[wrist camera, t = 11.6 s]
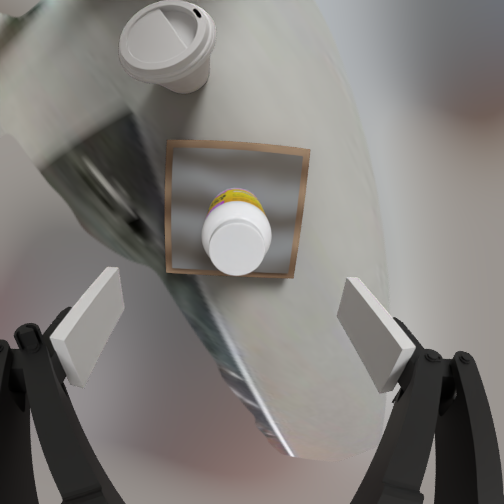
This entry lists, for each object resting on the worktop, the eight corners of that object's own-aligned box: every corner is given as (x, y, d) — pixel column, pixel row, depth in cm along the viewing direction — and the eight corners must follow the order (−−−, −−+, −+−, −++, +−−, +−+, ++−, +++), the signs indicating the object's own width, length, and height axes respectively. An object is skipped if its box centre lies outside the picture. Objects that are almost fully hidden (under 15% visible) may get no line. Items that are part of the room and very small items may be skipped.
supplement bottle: (223, 177, 33) (218, 195, 21) (271, 201, 34) (292, 232, 22) (200, 224, 35) (184, 267, 23) (246, 246, 36) (253, 297, 24)
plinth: (172, 140, 34) (166, 139, 30) (303, 149, 36) (311, 149, 32) (171, 262, 40) (165, 274, 37) (288, 268, 42) (294, 280, 38)
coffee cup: (224, 97, 32) (221, 66, 18) (156, 110, 32) (113, 91, 18) (217, 39, 29) (210, -15, 15) (150, 52, 29) (111, 10, 15)
